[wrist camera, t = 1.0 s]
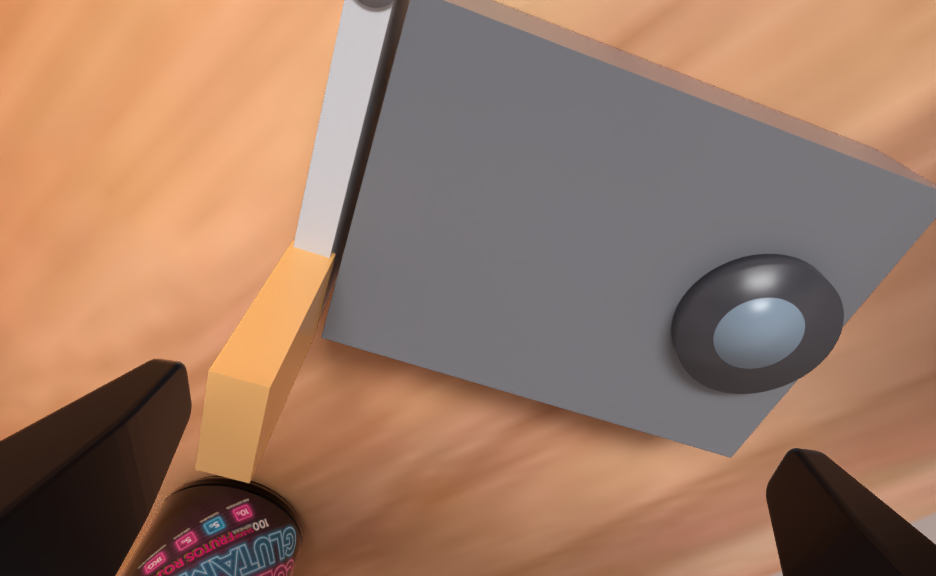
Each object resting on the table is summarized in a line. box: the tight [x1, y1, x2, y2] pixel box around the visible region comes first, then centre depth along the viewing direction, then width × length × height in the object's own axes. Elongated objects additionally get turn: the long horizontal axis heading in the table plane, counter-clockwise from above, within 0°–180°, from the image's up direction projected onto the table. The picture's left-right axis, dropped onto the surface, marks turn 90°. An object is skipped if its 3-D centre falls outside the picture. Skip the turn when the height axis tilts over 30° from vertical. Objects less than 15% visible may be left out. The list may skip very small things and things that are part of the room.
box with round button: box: [321, 0, 936, 458], centre depth 17 cm, size 14×10×4 cm
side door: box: [195, 0, 410, 483], centre depth 14 cm, size 1×11×9 cm, turn 161°
